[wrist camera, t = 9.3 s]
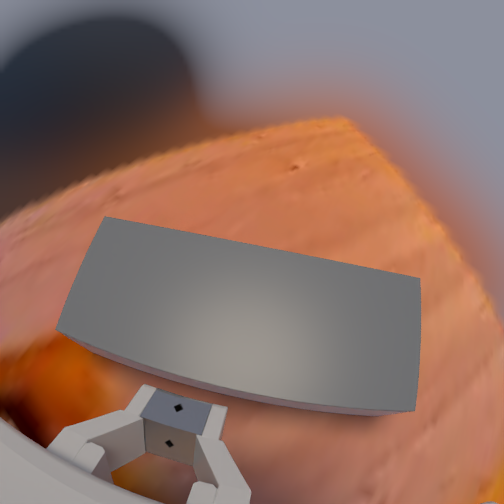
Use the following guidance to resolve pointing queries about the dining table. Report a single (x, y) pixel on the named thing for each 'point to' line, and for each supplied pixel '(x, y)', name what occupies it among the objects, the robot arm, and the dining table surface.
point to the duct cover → (249, 317)
